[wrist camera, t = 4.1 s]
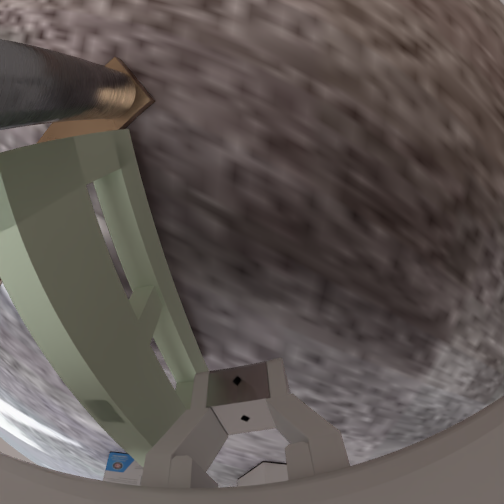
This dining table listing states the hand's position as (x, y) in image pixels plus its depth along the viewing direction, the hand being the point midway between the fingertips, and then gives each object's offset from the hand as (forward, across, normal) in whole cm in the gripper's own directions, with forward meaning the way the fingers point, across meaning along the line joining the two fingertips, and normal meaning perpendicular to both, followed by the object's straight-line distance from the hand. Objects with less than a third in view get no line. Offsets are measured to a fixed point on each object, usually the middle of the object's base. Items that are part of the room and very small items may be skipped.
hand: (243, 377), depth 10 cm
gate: (+6, +4, -1) cm, 8 cm away
